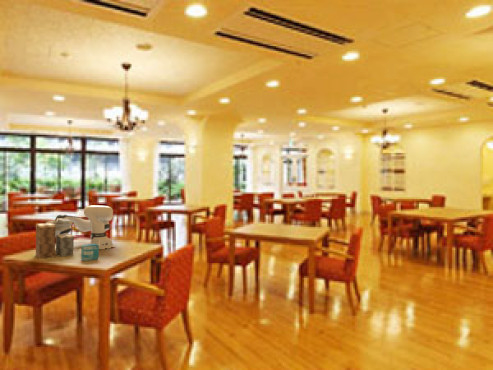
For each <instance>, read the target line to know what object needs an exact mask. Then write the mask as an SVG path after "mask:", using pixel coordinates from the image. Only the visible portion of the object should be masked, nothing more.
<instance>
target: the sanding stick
mask: <svg viewBox="0 0 493 370" xmlns="http://www.w3.org/2000/svg"><path fill="white" fill-rule="evenodd" d="M57 220H59V223H62V224H69V221H68V220H65V219H62V218H59V219H57Z"/></svg>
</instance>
